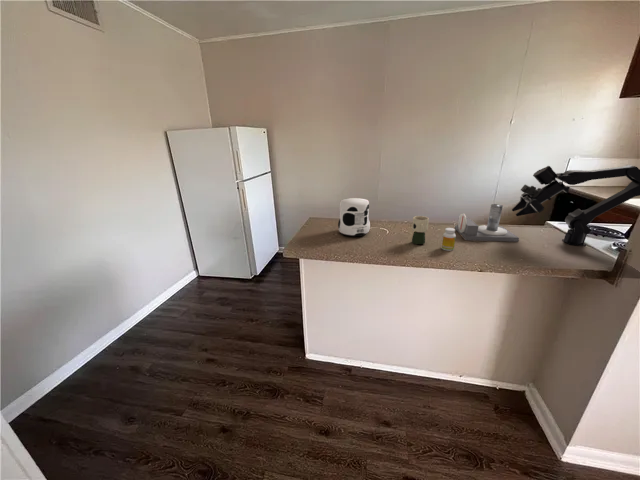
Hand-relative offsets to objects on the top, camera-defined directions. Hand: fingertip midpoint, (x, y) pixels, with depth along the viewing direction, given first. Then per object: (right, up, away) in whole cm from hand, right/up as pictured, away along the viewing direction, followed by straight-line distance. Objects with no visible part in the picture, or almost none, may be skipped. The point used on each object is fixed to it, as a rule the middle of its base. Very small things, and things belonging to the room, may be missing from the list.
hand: (514, 212), depth 134 cm
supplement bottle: (-37, -18, -8) cm, 42 cm away
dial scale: (-10, -11, +8) cm, 17 cm away
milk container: (-78, -10, +15) cm, 80 cm away
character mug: (-48, -15, 0) cm, 50 cm away
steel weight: (-7, -8, +7) cm, 12 cm away
